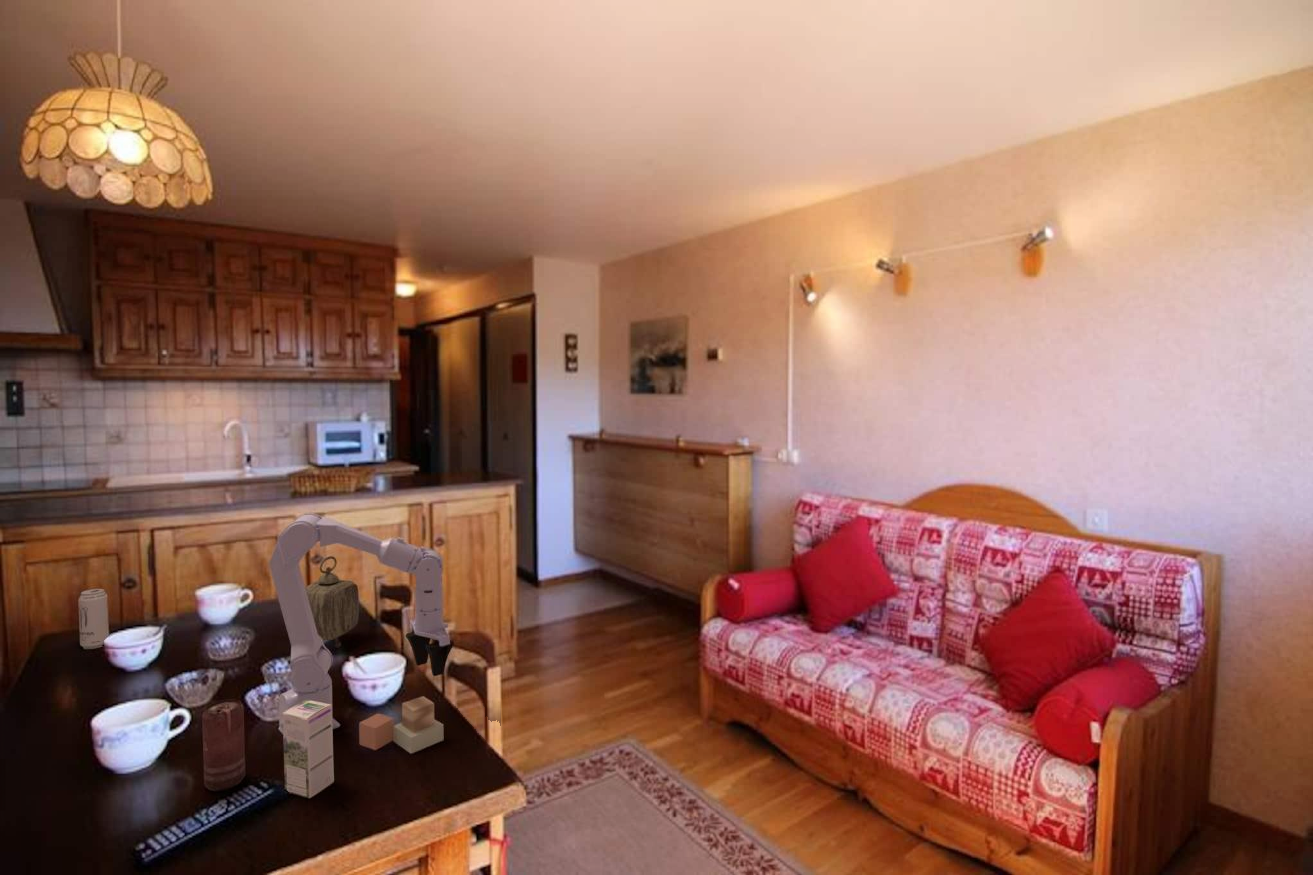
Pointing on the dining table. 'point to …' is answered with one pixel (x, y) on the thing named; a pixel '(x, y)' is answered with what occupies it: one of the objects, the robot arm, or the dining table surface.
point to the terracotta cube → (376, 731)
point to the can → (223, 744)
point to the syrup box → (308, 748)
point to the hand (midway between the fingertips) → (429, 669)
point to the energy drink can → (93, 618)
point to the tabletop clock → (333, 604)
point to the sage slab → (417, 737)
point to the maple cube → (417, 714)
